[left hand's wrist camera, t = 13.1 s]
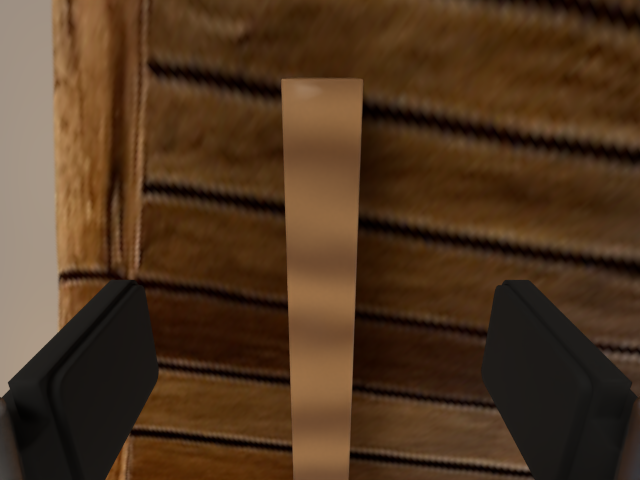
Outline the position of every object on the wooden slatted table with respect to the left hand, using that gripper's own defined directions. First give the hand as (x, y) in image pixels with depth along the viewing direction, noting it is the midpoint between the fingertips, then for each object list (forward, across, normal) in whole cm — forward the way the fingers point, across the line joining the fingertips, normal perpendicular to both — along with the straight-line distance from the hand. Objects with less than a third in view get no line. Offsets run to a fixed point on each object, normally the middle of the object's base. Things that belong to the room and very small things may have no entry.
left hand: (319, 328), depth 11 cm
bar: (+22, 0, -19) cm, 29 cm away
